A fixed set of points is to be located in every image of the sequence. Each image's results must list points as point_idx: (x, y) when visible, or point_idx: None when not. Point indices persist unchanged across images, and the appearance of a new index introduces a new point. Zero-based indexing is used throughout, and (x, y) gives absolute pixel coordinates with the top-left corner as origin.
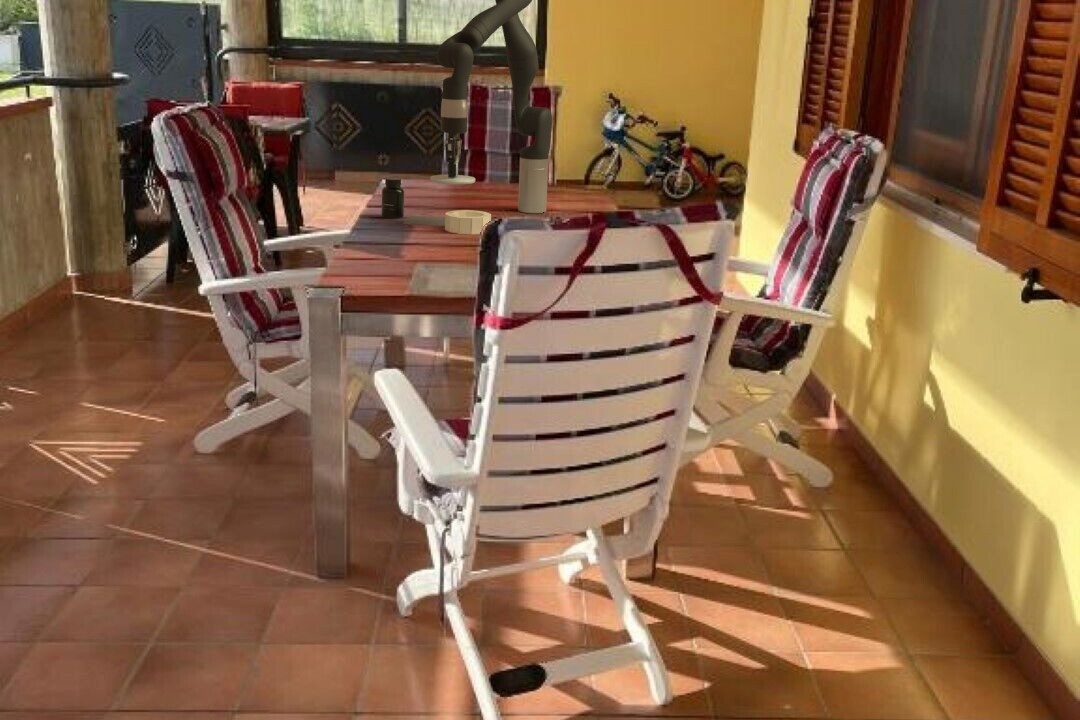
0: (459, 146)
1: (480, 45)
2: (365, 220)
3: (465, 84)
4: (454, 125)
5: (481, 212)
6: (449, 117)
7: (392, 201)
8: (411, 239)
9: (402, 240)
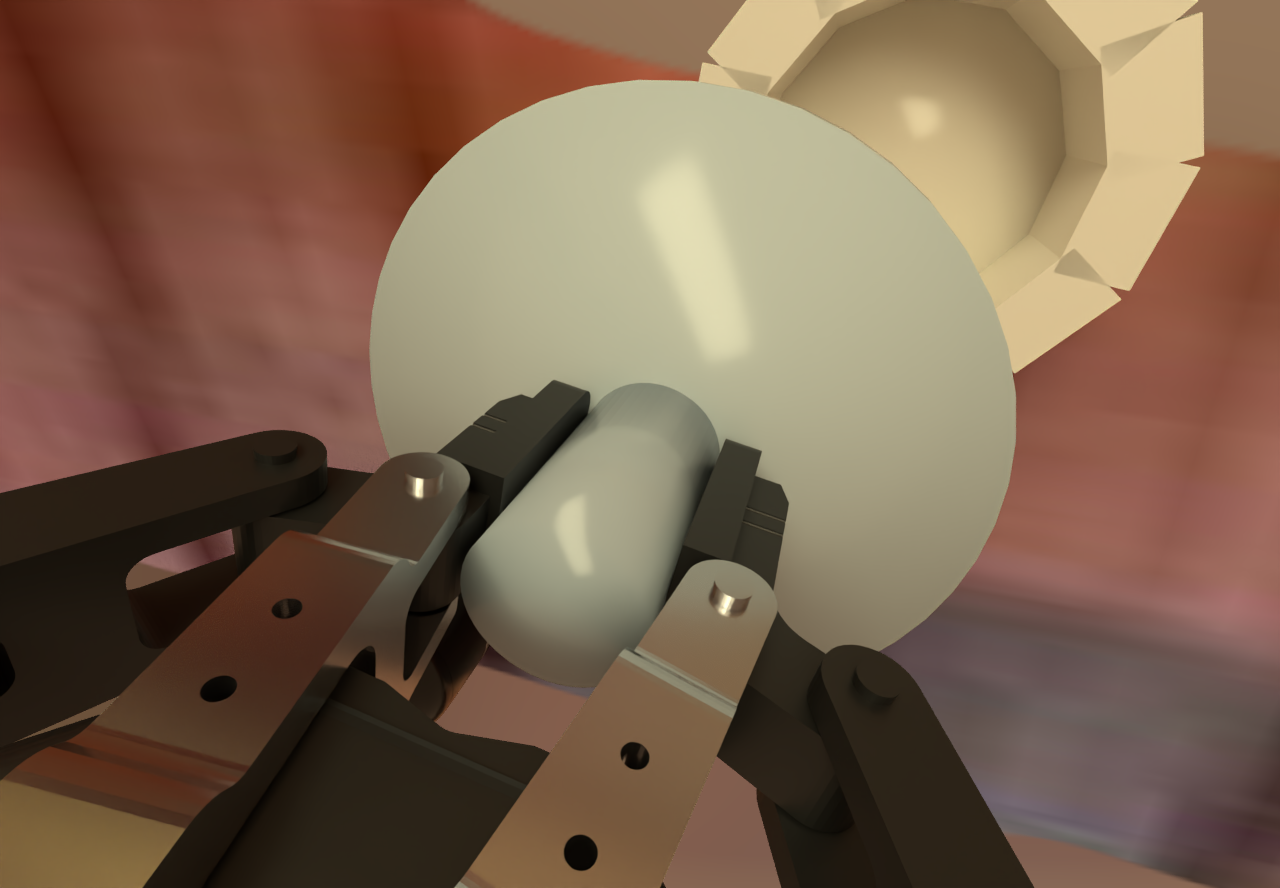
0: (259, 759)
1: None
2: (561, 687)
3: None
4: None
5: (818, 3)
6: None
7: (477, 650)
8: (1180, 606)
9: (1202, 659)
